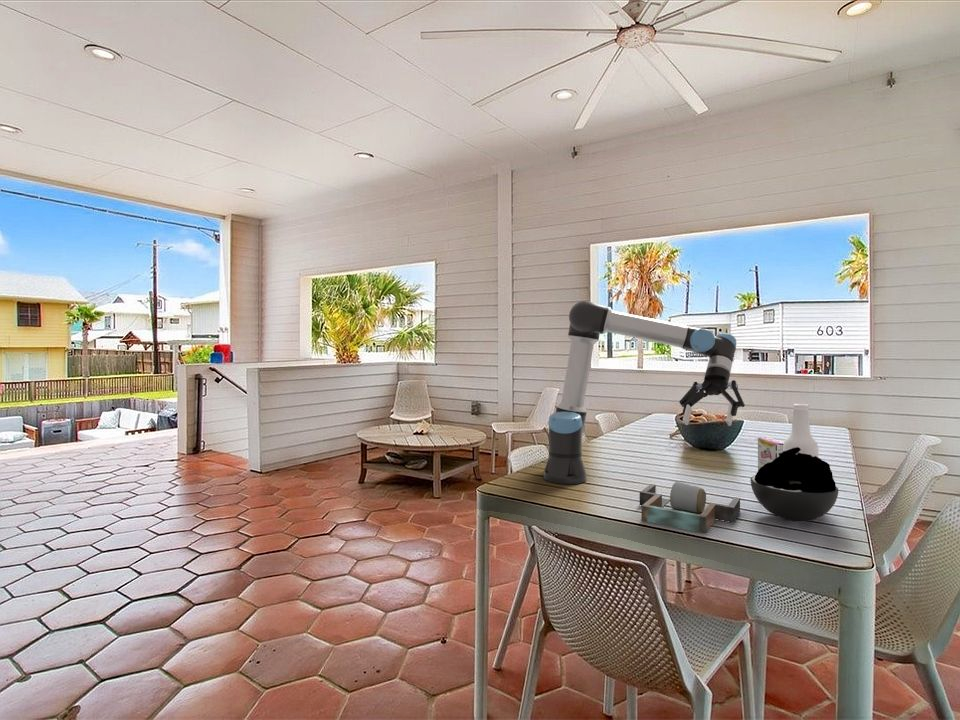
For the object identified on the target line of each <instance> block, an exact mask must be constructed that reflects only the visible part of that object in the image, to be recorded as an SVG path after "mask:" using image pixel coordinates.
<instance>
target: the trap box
mask: <svg viewBox="0 0 960 720" xmlns="http://www.w3.org/2000/svg"><path fill="white" fill-rule="evenodd" d="M656 487H657V486H656V484H654V483H653V484H651V483H650V484H649V485H648V486H646V487H644V488H643V489H642V490H641V491H639V506H640V505H641V509H640V510H641V515H640V516H641V521H643V522H648V523H654V524H659V525H663V526H667V527H672V528H673V527H674V528H677V529H683V530H686V531H687V530H688V531H692V532H698V533H702V534H703V533H704V534H706V533H707V532H708V531H709V529H710V528H711V526H712V525H713V523H714V522H715V521H716V520H715V519H718V520H717V521H721V520H724V521H723V522H726V521H729V522H728V523H732V522H734V523H735V522H736V520H737V518H738V517H739V515H738V514H740V513H741V497H737V496H736V497H735V496H734V497H733V498H732V499H731V501H730V502H729V504H722V503H716V502H712V501H711V502H710V503H709V504H707V506H705V507H704V510H703V511H702V512H701V513H694V512H689V511H684V510H679V509H673V508H672V509H671V508H666V507H665V506H666V505H667V504H668V503H670V498H665V497H663V495H662V493H657V491H656V489H657V488H656ZM664 505H665V506H664ZM663 506H664V507H663ZM739 512H740V513H739ZM735 519H736V520H735Z"/></svg>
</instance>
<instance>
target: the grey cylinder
mask: <svg viewBox="0 0 960 720" xmlns="http://www.w3.org/2000/svg"><path fill="white" fill-rule="evenodd" d="M669 495H670V496H669V499H670V501H669V503H670V506H671V508H672V509H674V510H679V511H684V512H689V513H694V514H701V513H702V512H703V511H704V510H705V508H706V503H707V502H706V501H707V493H706V491H705V490H704V488H702V487H699V486H696V485H691V484H687V483H683V482H680V481H675V482H674V483H673V484H672V486H671V489H670V494H669Z"/></svg>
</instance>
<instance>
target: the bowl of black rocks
mask: <svg viewBox="0 0 960 720" xmlns="http://www.w3.org/2000/svg"><path fill="white" fill-rule="evenodd" d="M800 450H801V449H800V448H799V447H796V448H792V449H789V450H787V451H783V452H782V453H779V455H780V456H779V457H777V458H775V459H774V460H773V461H772V462H769V463H766V464H764V466H762V467H761V468H760V469H759V470H758V469H757V472H756V473H755V475H753V476H751V477H750V486H751V489H752V492H753V494H754V496H755V498H756V500H757V502H759V504H760V505H761V506H762V507H763V508H764V509H765V510H766V511H768V512H769V513H771V514H772V515H774V516H776V517H778V518H779V519H783V520H786V521H791V522H797V523H799V522H800V523H805V522H810V521H815V520H817V519H820V518H821V517H823V516H825V515H826V514H828V513H829V511H831V509H833V507H834V505H835V504H836V501H837V499H838V496H839V488H838V487H837V486H836V481H835V479H834V476H833V470H832V469H831V465H830V464H829V463H828V462H827V461H825V460H823V459H821V458H820V457H819V456H818V457H816V456H814V457H812V456H811V455H809V454H801V453H798V452H799V451H800ZM796 453H797V454H796Z"/></svg>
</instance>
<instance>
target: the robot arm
mask: <svg viewBox="0 0 960 720" xmlns="http://www.w3.org/2000/svg"><path fill="white" fill-rule="evenodd" d="M568 313H569V315H568V321H569V327H568V332H567V337H568V339H569V340H570V347H569V353H568V359H567V365H566V371H565V376H564V383H563V389H562V395H561V401H560V402H559V403H558V404H556V407H555V412H554V413H552V414H550V416H548V423H547V425H548V458H547V461H546V464H545V467H544V470H543V479H544V480H545V481H546V482H549V483H554V484H559V485H560V484H562V485H575V484H576V485H577V484H581V483H585V482H586V481H587V471H586V468H585V465H584V461H583V459H582V455H583V453H582V450H583V448H582V446H583V445H582V444H583V441H582V439H583V435H584V433H585V429H586V425H585V424H586V419H587V418H586V417H587V412H588V410H587V409H586V408H585V406H584V405H585V399H586V393H587V388H588V382H589V376H590V368H591V362H592V357H593V351H594V346H595V344H596V343H598V342H599V340H600V336H601V335H600V334H603V335H604V334H606V333H612V334H617V335H621V336H624V337H625V336H626V337H630V338H636V339H640V340H644V341H649V342H654V343H657V344H663V345H667V346H670V347H671V346H672V347H677V348H681V349H683V351H684V350H685V351H689V352H692V353H695V354H699V355H702V356H705V357H707V358H709V359H708V363H707V366H706V369H705V370H706V371H705V373H704V379H703V382H701V383H699V382H698V381H694V382H693V384H692V386H691V387H690V389H689V390H688V391H687V392H686V393H685V394H684V395H683V397H682V398H681V399H680V400H679V402H678V403H679V405H680V406H681V407H682V408H683V409H682V414H683V418H682V422H683V423H684V424H685V426H689V422H690V418H691V413H692V411H693V408H692V407H693V406H694V405H696V404H697V403H698V402H699V401H701V400H702V399H703V398H706V397H708V396H719V395H722V396H723V398H725V399H726V401H728V402H729V404H728V409H727V414H726V418H725V423H726V425H727V426H728V427H731V426H732V423H733V418H734V417H736V416H737V412H738V408H744V407H745V406H746V404H745V402H744V401H743V398H742V396H741V393H740V392H739V390H738V389H739V385H738V383H737V381H736V380H735V379H734V380H731V382H730V381H729V380H730V376H731V373H732V372H731V371H732V366H733V362H734V359H735V358H734V357H735V353H736V351H737V339H736V337H735V336H734V335H732V334H730V333H723V332H719V333H718V334H716V335H715V334H714V333H713V332H712V331H711V330H710V329H707V328H702V327H701V328H698V327H693V326H687V325H684V324H679V323H675V322H669V321H664V320H659V319H655V318H649V317H646V316H639V315H635V314H630V313H627V312H626V313H625V312H621V311H617V310H613V308H611V306H606V305H602V304H599V303H597V302H596V303H595V302H594V301H590V300H581V301H579V302H576V303H575V304H573V306H572V307H571V309H570V311H569V312H568ZM728 388H730V389H731V390H732V391H733V393H734V395H735V397H736V400H737V401H736V400H735V399H734V398H733V397H732V396H731V395H730V393H728V391H726V390H728Z"/></svg>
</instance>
